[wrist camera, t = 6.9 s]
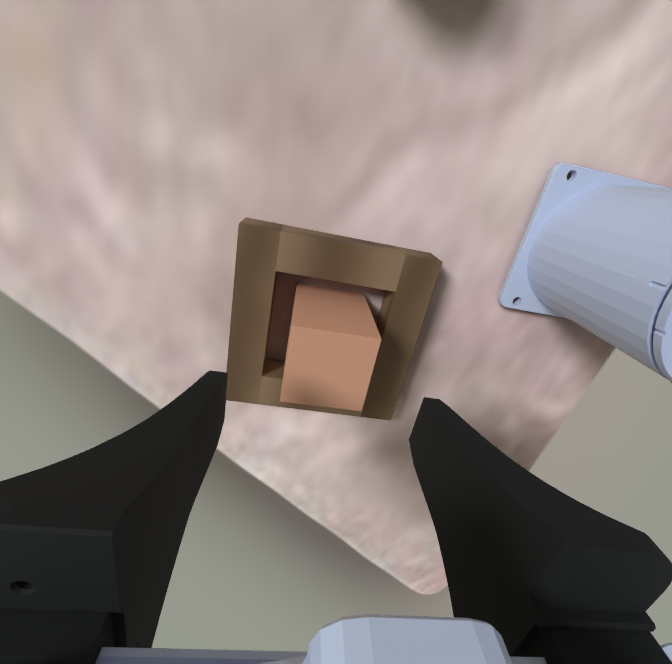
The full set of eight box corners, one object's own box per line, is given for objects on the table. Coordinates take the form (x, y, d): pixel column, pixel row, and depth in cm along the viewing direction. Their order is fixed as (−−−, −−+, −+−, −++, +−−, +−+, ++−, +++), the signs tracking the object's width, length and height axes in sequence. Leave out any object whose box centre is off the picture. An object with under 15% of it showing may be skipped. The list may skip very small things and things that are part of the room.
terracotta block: (363, 293, 21) (381, 338, 16) (349, 352, 23) (361, 411, 17) (296, 282, 21) (291, 325, 15) (287, 343, 22) (279, 401, 17)
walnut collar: (430, 253, 20) (442, 262, 19) (385, 401, 25) (390, 420, 23) (245, 217, 19) (238, 223, 17) (231, 381, 23) (224, 399, 21)
